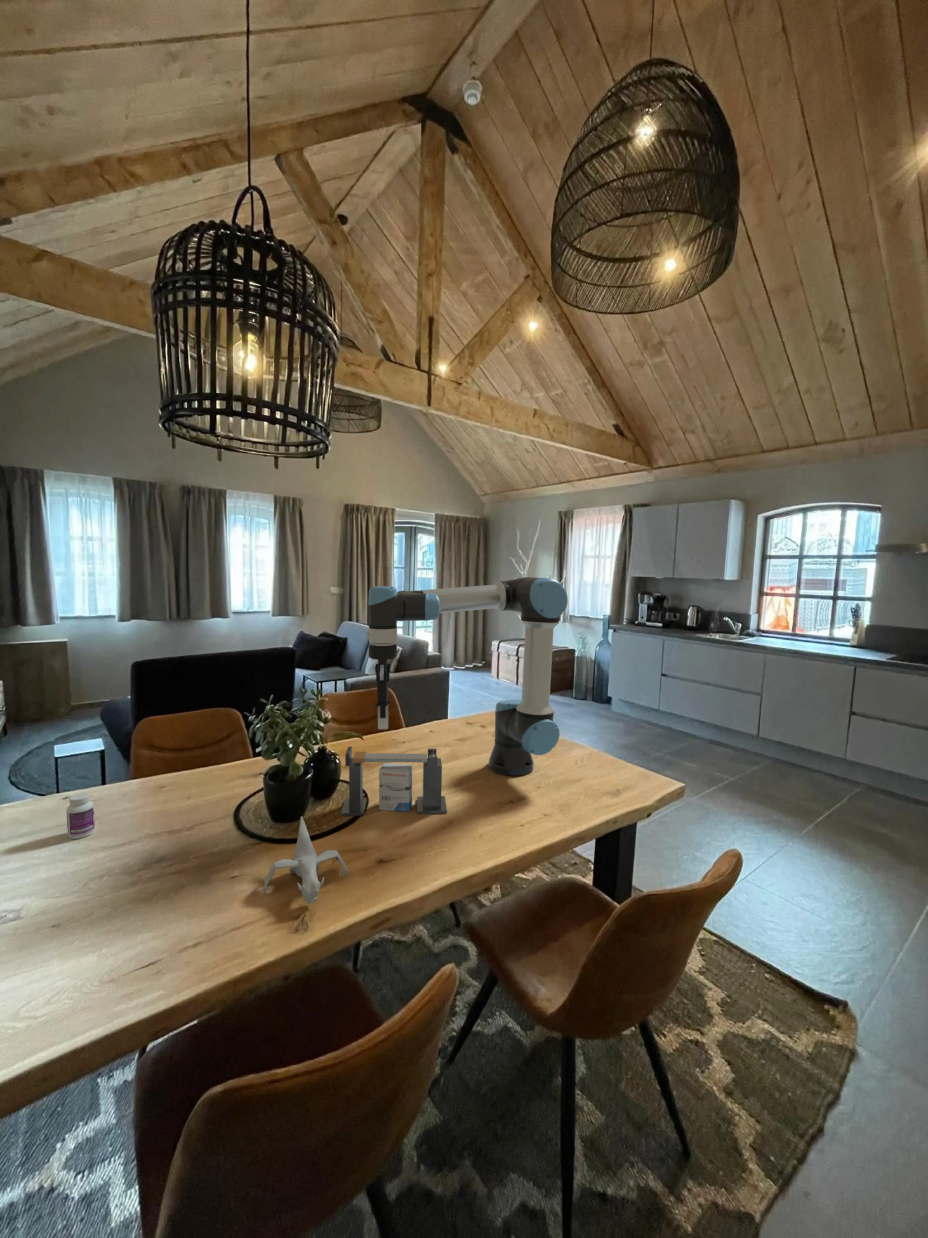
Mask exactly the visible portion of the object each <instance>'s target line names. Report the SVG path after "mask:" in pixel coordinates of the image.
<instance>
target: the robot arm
mask: <svg viewBox="0 0 928 1238" xmlns="http://www.w3.org/2000/svg"><path fill="white" fill-rule="evenodd" d="M367 601H368V602H367V605H368V607H367V608H368V630H367V631H366V632H365V634H366V635H367V636H368V635H369V636H368V642H369V643H370V644H369V645H368V657H369V658H370V659H371V660H377V663H375V666H374V671H375V682H377V684H376V685H377V686H376V687H377V688H376V689H377V693H376V694H377V703H375V707H377V730H388V729H389V704H391V700H389V680H390V677H391V676H390V675H391V674H390V673H391V672H390V671H391V663H388V661H389V660H393V659H394V660H395V659H396V658H397V656H398V650H397V649H398V647H397V646H398V645H397V644H396V643H397V642H398V625H397V624H398V622H404V621H405V622H408V621H409V622H413V621H414V622H418V621H419V622H420V621H421V622H422V621H425V622H428V621H435V620H438V618H439V616H440V614H448V613H459V612H470V611H479V610H490V609H491V610H492V609H495V610H496V611H498V612H503V611H506V612H508V611H509V612H518V613H521V614H520V621H521V623H522V624H523V625H524V627H525V630H524V631H525V632H524V646H523V647H524V649H523V651H524V652H523V668H522V670H523V671H522V689H521V699H505V700H500V701H498V702H497V703H496V705H495V711H494V716H495V717H494V718H495V719H494V746H493V748H492V751H491V753H490V757H489V759H488V768H489V769H490V770H491V771H492V772H494V773H496V774H500V775H504V776H511V777H512V776H514V777H516V776H525V775H527V774H530V773H531V772H533V771H534V759H533V755H535V756H544V755H546V754H548V753H550V752H551V751H552V750H553V748H555V747H556V746H557V744H558V742H559V740H560V737H561V736H560V734H561V733H560V728H559V726H558V725H557V723H556V722H555V721H554V712H555V711H554V708H553V707H552V706H551V705H550V698H551V697H550V696H551V679H552V662H553V648H554V647H553V646H554V645H553V644H554V643H553V642H554V632H555V631H554V630H555V627H556V626H558V625H559V624H560V616H562V615H563V613H564V612H565V611H566V609H567V606H568V604H569V603H568V601H569V599H568V593H567V591H566V588H565V587H564V586H563V584H562V583H561V582H559V581H558V580H556V579H553V578H549V577H545V576H544V577H530V576H527V577H519V578H515V579H509V580H508V579H507V580H500V581H496V582H494V584H487V585H474V586H462V587H461V586H459V587H448V588H447V587H446V588H433V589H431V588H430V589H421V590H420V589H419V590H399V591H397V587H396V586H389V585H388V586H383V585H382V586H380V585H379V586H377V585H376V586H372V587H370V588H369V590H368V600H367Z"/></svg>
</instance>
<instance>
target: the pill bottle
mask: <svg viewBox="0 0 928 1238" xmlns="http://www.w3.org/2000/svg"><path fill="white" fill-rule="evenodd" d="M68 799H69V805H68V807H67V808H66V823H67V824H66V826H67V836H68V838H69V839H71V840H79V839H83V838H86V837H89V836H90V835H93V834H94V832H95V831H96V826H95V825H96V824H95V821H96V820H95V805H94V804H95V803H94V802H93V801H92V800H91V794H90V793H89V792H81V793H77V794H76V793H75V794H72V796H69V798H68Z"/></svg>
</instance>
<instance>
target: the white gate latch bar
mask: <svg viewBox="0 0 928 1238" xmlns="http://www.w3.org/2000/svg"><path fill="white" fill-rule="evenodd" d="M429 756H435V753H434V752H431V753H430V754H429ZM352 758H353V763H422V764H423V763H427V758H428V753H403V752H402V753H400V752H399V753H397V752H396V753H393V752H391V753H386V752H385V753H382V752H381V753H379V752H378V753H377V752H367V751H355V752H354V755H353V757H352Z"/></svg>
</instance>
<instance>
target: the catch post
mask: <svg viewBox="0 0 928 1238" xmlns="http://www.w3.org/2000/svg"><path fill="white" fill-rule="evenodd" d="M345 752H346V753H345V765H344V766H345V767H348V768H349V769H348V778H349V779H348V788H349V789H348V797H347V798H346V797H345V799H344V801H343V804H342V809H341V812H340V817H363V816H364V815H365V812H366V811H365V810H366V806H367V802H368V801H367V797H364V795H363V789H364V788H363V782H364V781H363V775H364V774H363V770H364V769H363V767H364V766H363V763H353V758H354V757H353V746H348V747H347V749H346V751H345Z"/></svg>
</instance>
